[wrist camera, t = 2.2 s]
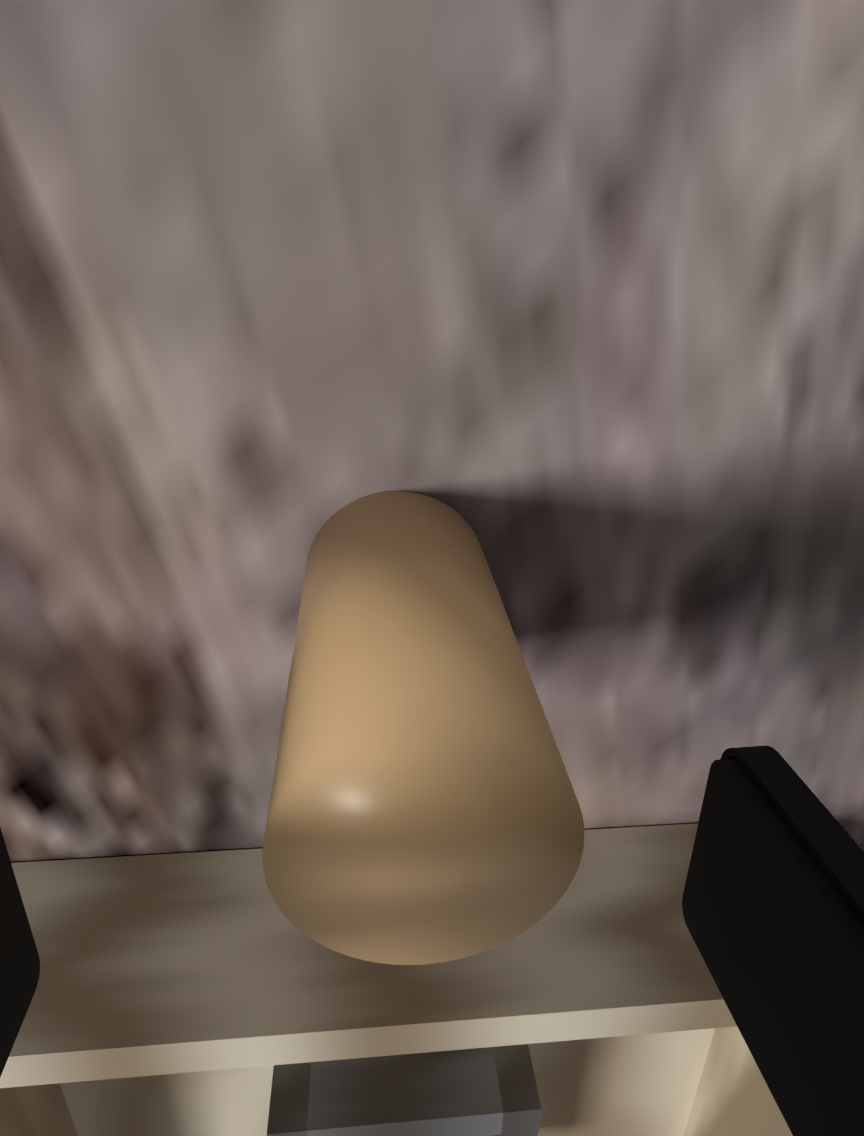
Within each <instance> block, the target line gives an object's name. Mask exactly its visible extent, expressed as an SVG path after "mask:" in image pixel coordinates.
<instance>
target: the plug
mask: <svg viewBox="0 0 864 1136" xmlns="http://www.w3.org/2000/svg"><path fill="white" fill-rule="evenodd" d="M583 848H584V824H583V817H582V813H581V810H580V807H579V804H578V801H577V798H576V795H575V793H574V790H573V788H572V785H571V782H570V780H569V777H568V774H567V772H566V769H565V766H564V764H563V761H562V759H561V756H560V753H559V751H558V748H557V745H556V743H555V740H554V737H553V735H552V732H551V730H550V727H549V724H548V722H547V719H546V716H545V714H544V711H543V708H542V706H541V703H540V701H539V698H538V695H537V693H536V690H535V687H534V685H533V682H532V679H531V677H530V674H529V672H528V669H527V666H526V664H525V661H524V658H523V656H522V653H521V650H520V648H519V645H518V643H517V640H516V637H515V635H514V632H513V629H512V627H511V624H510V622H509V619H508V616H507V614H506V611H505V608H504V606H503V603H502V600H501V598H500V595H499V593H498V590H497V587H496V585H495V582H494V579H493V577H492V574H491V571H490V569H489V566H488V564H487V561H486V558H485V556H484V553H483V550H482V548H481V545H480V542H479V540H478V538H477V536H476V534H475V532H474V531H473V529H472V528H471V527H470V525H469V524H468V523H467V521H466V520H465V519H464V518H463V517H462V516H461V515H460V514H459V513H457V512H456V511H455V510H454V509H453V508H451V507H450V506H448V505H446V504H445V503H443V502H441V501H439V500H437V499H435V498H433V497H430V496H426V495H423V494H420V493H414V492H408V491H389V492H381V493H376V494H371V495H368V496H365V497H362V498H360V499H357V500H355V501H353V502H351V503H349V504H348V505H346V506H345V507H343V508H342V509H340V510H339V511H337V512H336V513H335V514H334V515H333V516H332V517H331V518H330V519H329V520H328V521H327V522H326V523H325V524H324V525H323V526H322V528H321V529H320V531H319V532H318V534H317V535H316V537H315V539H314V541H313V544H312V546H311V549H310V552H309V555H308V560H307V566H306V573H305V579H304V586H303V592H302V599H301V605H300V612H299V618H298V625H297V631H296V637H295V644H294V650H293V657H292V663H291V670H290V676H289V683H288V689H287V695H286V702H285V708H284V715H283V721H282V728H281V734H280V741H279V747H278V754H277V760H276V766H275V773H274V779H273V786H272V792H271V799H270V805H269V812H268V818H267V825H266V831H265V837H264V844H263V850H262V858H263V871H264V876H265V880H266V884H267V886H268V889H269V891H270V894H271V896H272V898H273V900H274V901H275V903H276V904H277V906H278V908H279V909H280V911H281V912H282V913H283V914H284V915H285V917H286V918H287V919H288V920H289V921H290V922H291V923H292V924H293V925H294V926H295V927H296V928H298V929H299V930H300V931H301V932H302V933H303V934H305V935H306V936H308V937H309V938H311V939H313V940H314V941H316V942H317V943H319V944H321V945H323V946H325V947H327V948H329V949H331V950H333V951H336V952H339V953H341V954H344V955H347V956H349V957H353V958H357V959H361V960H365V961H370V962H376V963H383V964H394V965H425V964H434V963H442V962H448V961H452V960H457V959H462V958H466V957H469V956H472V955H476V954H479V953H482V952H484V951H487V950H489V949H492V948H494V947H497V946H499V945H501V944H503V943H505V942H507V941H509V940H511V939H513V938H515V937H516V936H518V935H519V934H521V933H522V932H524V931H526V930H527V929H529V928H530V927H531V926H533V925H534V924H535V923H536V922H538V921H539V920H540V919H541V918H543V917H544V916H545V915H546V914H547V913H548V912H549V911H550V910H551V909H552V908H553V907H554V906H555V905H556V904H557V902H558V901H559V900H560V899H561V897H562V896H563V895H564V893H565V892H566V891H567V889H568V887H569V885H570V884H571V882H572V880H573V879H574V877H575V874H576V872H577V869H578V867H579V864H580V861H581V857H582V852H583Z"/></svg>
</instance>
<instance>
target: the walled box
mask: <svg viewBox="0 0 864 1136" xmlns="http://www.w3.org/2000/svg"><path fill="white" fill-rule="evenodd" d="M697 827H698V823H696V824H678V825H661V826H644V827H626V828H609V829H592V830H584V848H583V852H582V857H581V861H580V864H579V867H578V869H577V872H576V874H575V877H574V879H573V880H572V882H571V884H570V885H569V887H568V889H567V891H566V892H565V893H564V895H563V896H562V897H561V899H560V900H559V901H558V902H557V904H556V905H555V906H554V907H553V908H552V909H551V910H550V911H549V912H548V913H547V914H546V915H545V916H544V917H543V918H541V919H540V920H539V921H538V922H536V923H535V924H534V925H533V926H531V927H530V928H529V929H527V930H526V931H524V932H522V933H521V934H519V935H518V936H516V937H515V938H513V939H511V940H509V941H507V942H505V943H503V944H501V945H499V946H497V947H494V948H492V949H489V950H487V951H484V952H482V953H479V954H476V955H472V956H469V957H466V958H462V959H457V960H452V961H448V962H442V963H434V964H425V965H394V964H383V963H376V962H370V961H365V960H361V959H357V958H353V957H349V956H347V955H344V954H341V953H339V952H336V951H333V950H331V949H329V948H327V947H325V946H323V945H321V944H319V943H317V942H316V941H314V940H313V939H311V938H309V937H308V936H306V935H305V934H303V933H302V932H301V931H300V930H299V929H298V928H296V927H295V926H294V925H293V924H292V923H291V922H290V921H289V920H288V919H287V918H286V917H285V915H284V914H283V913H282V912H281V911H280V909H279V908H278V906H277V904H276V903H275V901H274V900H273V898H272V896H271V894H270V891H269V889H268V886H267V884H266V880H265V876H264V871H263V858H262V850H263V848H262V849H245V850H228V851H210V852H193V853H175V854H158V855H141V856H123V857H106V858H89V859H71V860H54V861H37V862H19V863H11V865H12V868H13V871H14V875H15V878H16V881H17V885H18V888H19V891H20V894H21V898H22V901H23V904H24V908H25V911H26V914H27V917H28V921H29V924H30V927H31V931H32V934H33V937H34V940H35V944H36V947H37V950H38V954H39V958H40V975H39V980H38V985H37V988H36V991H35V993H34V996H33V998H32V1001H31V1003H30V1006H29V1008H28V1011H27V1013H26V1016H25V1018H24V1020H23V1023H22V1025H21V1028H20V1030H19V1033H18V1035H17V1038H16V1040H15V1043H14V1045H13V1047H12V1050H11V1052H10V1055H9V1057H8V1060H7V1062H6V1065H5V1067H4V1070H3V1072H2V1074H1V1077H0V1136H793V1135H792V1133H791V1131H790V1129H789V1127H788V1125H787V1123H786V1121H785V1119H784V1117H783V1115H782V1113H781V1111H780V1109H779V1107H778V1105H777V1103H776V1102H775V1100H774V1098H773V1096H772V1094H771V1092H770V1090H769V1088H768V1086H767V1084H766V1082H765V1080H764V1078H763V1076H762V1074H761V1072H760V1070H759V1068H758V1066H757V1064H756V1062H755V1060H754V1058H753V1056H752V1054H751V1052H750V1050H749V1048H748V1046H747V1044H746V1042H745V1040H744V1039H743V1037H742V1035H741V1033H740V1031H739V1029H738V1027H737V1025H736V1023H735V1021H734V1019H733V1017H732V1015H731V1013H730V1011H729V1009H728V1007H727V1005H726V1003H725V1001H724V999H723V997H722V995H721V993H720V991H719V989H718V987H717V985H716V983H715V981H714V979H713V978H712V976H711V974H710V972H709V970H708V968H707V966H706V964H705V962H704V960H703V958H702V956H701V954H700V952H699V950H698V948H697V946H696V944H695V942H694V940H693V938H692V936H691V934H690V932H689V930H688V928H687V926H686V923H685V920H684V917H683V911H682V897H683V892H684V887H685V883H686V878H687V873H688V869H689V864H690V860H691V855H692V850H693V846H694V841H695V836H696V832H697Z"/></svg>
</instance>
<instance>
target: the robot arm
mask: <svg viewBox="0 0 864 1136" xmlns="http://www.w3.org/2000/svg"><path fill="white" fill-rule="evenodd" d="M682 911H683V917H684V920H685V923H686V926H687V928H688V930H689V932H690V934H691V936H692V938H693V940H694V942H695V944H696V946H697V948H698V950H699V952H700V954H701V956H702V958H703V960H704V962H705V964H706V966H707V968H708V970H709V972H710V974H711V976H712V978H713V979H714V981H715V983H716V985H717V987H718V989H719V991H720V993H721V995H722V997H723V999H724V1001H725V1003H726V1005H727V1007H728V1009H729V1011H730V1013H731V1015H732V1017H733V1019H734V1021H735V1023H736V1025H737V1027H738V1029H739V1031H740V1033H741V1035H742V1037H743V1039H744V1040H745V1042H746V1044H747V1046H748V1048H749V1050H750V1052H751V1054H752V1056H753V1058H754V1060H755V1062H756V1064H757V1066H758V1068H759V1070H760V1072H761V1074H762V1076H763V1078H764V1080H765V1082H766V1084H767V1086H768V1088H769V1090H770V1092H771V1094H772V1096H773V1098H774V1100H775V1102H776V1103H777V1105H778V1107H779V1109H780V1111H781V1113H782V1115H783V1117H784V1119H785V1121H786V1123H787V1125H788V1127H789V1129H790V1131H791V1133H792V1135H793V1136H864V852H863V850H862V849H861V848H860V847H859V846H858V845H857V843H856V842H855V841H854V840H853V839H852V838H851V836H850V835H849V834H848V833H847V832H846V831H845V830H844V828H843V827H842V826H841V825H840V824H839V823H838V821H837V820H836V819H835V818H834V817H833V816H832V814H831V813H830V812H829V811H828V810H827V809H826V807H825V806H824V805H823V804H822V803H821V802H820V801H819V799H818V798H817V797H816V796H815V795H814V794H813V792H812V791H811V790H810V789H809V788H808V787H807V785H806V784H805V783H804V782H803V781H802V780H801V778H800V777H799V776H798V775H797V774H796V773H795V772H794V770H793V769H792V768H791V767H790V766H789V765H788V763H787V762H786V761H785V760H784V759H783V758H782V756H781V755H780V754H779V753H778V752H777V751H776V750H775V749H774V748H772V747H769V746H755V747H740V748H729V749H726V750H725V751H724V752H723V754H722V757H721V759H720V760H715V761H714V762H713V763H712V765H711V768H710V772H709V776H708V781H707V786H706V790H705V795H704V799H703V804H702V809H701V813H700V818H699V823H698V827H697V832H696V836H695V841H694V846H693V850H692V855H691V860H690V864H689V869H688V873H687V878H686V883H685V887H684V892H683V897H682ZM39 975H40V958H39V954H38V950H37V947H36V944H35V940H34V937H33V934H32V931H31V927H30V924H29V921H28V917H27V914H26V911H25V908H24V904H23V901H22V898H21V894H20V891H19V888H18V885H17V881H16V878H15V875H14V871H13V868H12V865H11V861H10V858H9V855H8V852H7V848H6V845H5V842H4V838H3V835H2V832H1V829H0V1077H1V1074H2V1072H3V1070H4V1067H5V1065H6V1062H7V1060H8V1057H9V1055H10V1052H11V1050H12V1047H13V1045H14V1043H15V1040H16V1038H17V1035H18V1033H19V1030H20V1028H21V1025H22V1023H23V1020H24V1018H25V1016H26V1013H27V1011H28V1008H29V1006H30V1003H31V1001H32V998H33V996H34V993H35V991H36V988H37V985H38V980H39Z"/></svg>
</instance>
